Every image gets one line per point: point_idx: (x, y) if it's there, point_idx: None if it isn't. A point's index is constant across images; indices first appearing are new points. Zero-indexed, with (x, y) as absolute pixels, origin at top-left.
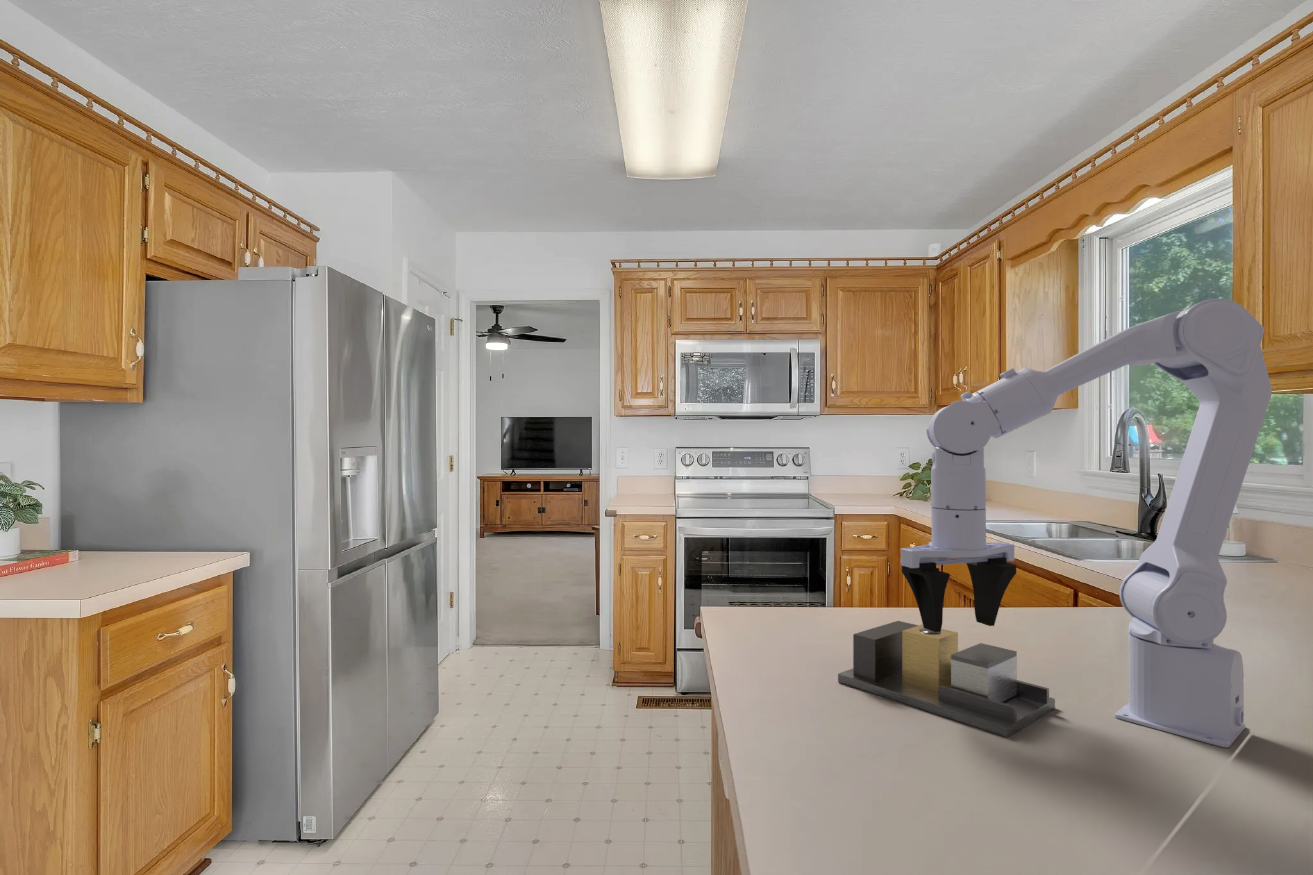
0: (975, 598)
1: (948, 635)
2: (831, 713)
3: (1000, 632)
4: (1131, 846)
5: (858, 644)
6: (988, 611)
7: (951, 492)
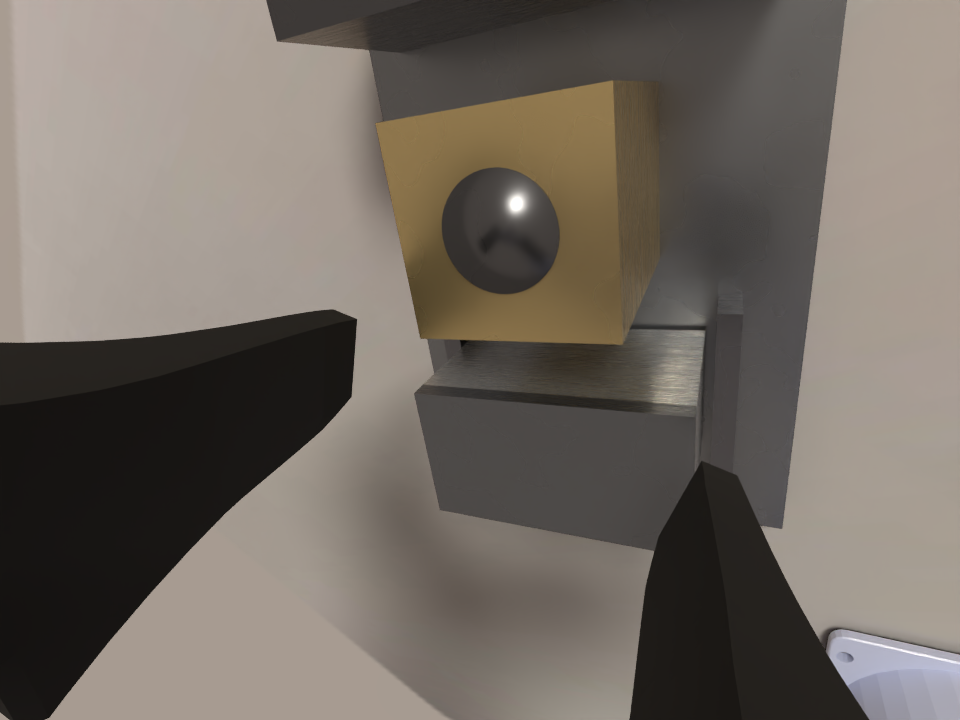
0: (714, 571)
1: (517, 339)
2: (220, 117)
3: None
4: (341, 612)
5: None
6: (655, 597)
7: None
